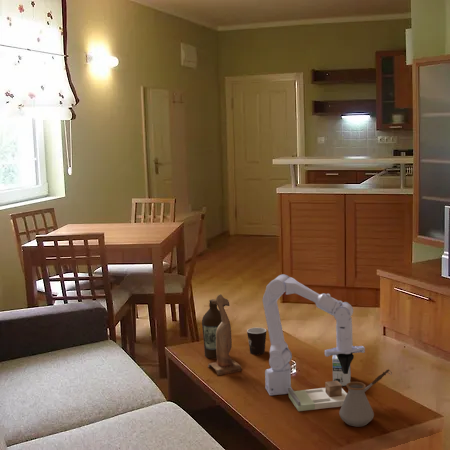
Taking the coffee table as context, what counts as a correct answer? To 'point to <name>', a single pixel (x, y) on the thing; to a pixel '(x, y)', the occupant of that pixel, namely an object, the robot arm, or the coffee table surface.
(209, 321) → the olive oil
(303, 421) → the coffee table surface
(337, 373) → the light bulb box
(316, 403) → the trap deck
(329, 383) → the walnut block
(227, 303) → the bird sculpture
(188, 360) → the coffee table surface
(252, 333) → the coffee mug
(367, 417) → the coffee pot
